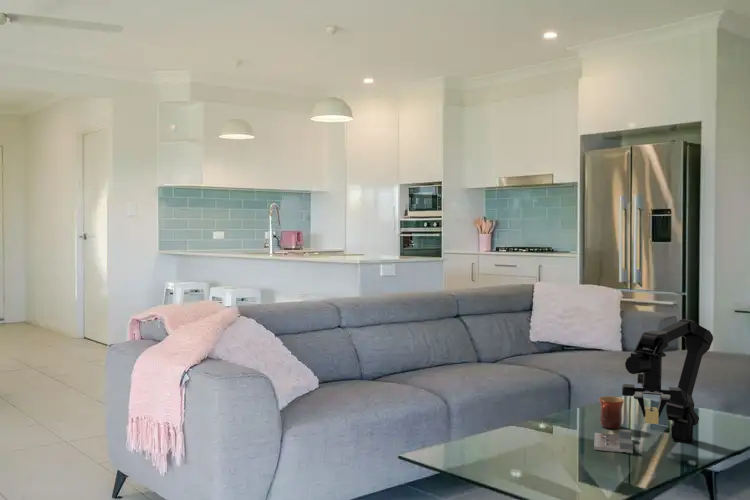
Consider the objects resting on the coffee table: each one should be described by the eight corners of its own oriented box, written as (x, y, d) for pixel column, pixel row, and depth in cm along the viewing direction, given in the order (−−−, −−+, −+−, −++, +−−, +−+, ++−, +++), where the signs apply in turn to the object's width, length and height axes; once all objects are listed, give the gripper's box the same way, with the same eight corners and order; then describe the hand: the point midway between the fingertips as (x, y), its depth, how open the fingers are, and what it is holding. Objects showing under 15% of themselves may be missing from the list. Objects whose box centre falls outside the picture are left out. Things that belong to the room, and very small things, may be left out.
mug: (603, 422, 275) (603, 395, 274) (626, 426, 269) (627, 398, 269) (591, 429, 265) (591, 401, 265) (615, 434, 260) (616, 405, 259)
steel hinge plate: (630, 439, 254) (631, 430, 254) (632, 453, 239) (632, 443, 238) (594, 436, 257) (594, 427, 257) (594, 449, 242) (594, 440, 242)
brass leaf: (656, 419, 246) (657, 406, 246) (658, 424, 240) (658, 411, 240) (644, 418, 247) (644, 405, 247) (645, 423, 242) (645, 410, 241)
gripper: (680, 367, 248) (679, 413, 249) (621, 364, 254) (621, 409, 254) (683, 374, 237) (682, 422, 238) (622, 370, 243) (621, 417, 244)
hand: (651, 417), depth 244 cm, fingers closed on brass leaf, 4 cm apart
